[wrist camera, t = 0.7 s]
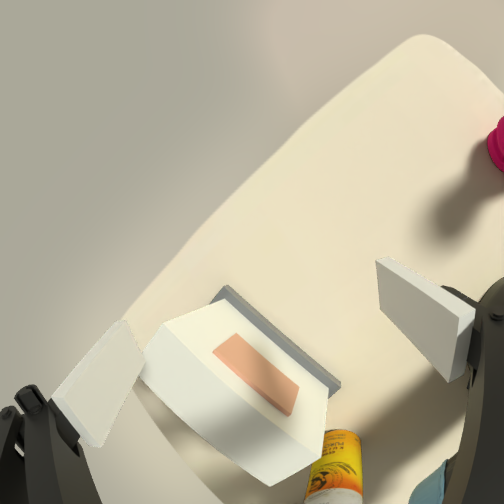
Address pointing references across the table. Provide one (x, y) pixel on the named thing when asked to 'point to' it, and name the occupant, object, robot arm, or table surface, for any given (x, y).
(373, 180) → the table surface
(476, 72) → the table surface
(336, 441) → the beer can
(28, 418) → the robot arm
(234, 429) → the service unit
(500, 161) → the pepper mill
